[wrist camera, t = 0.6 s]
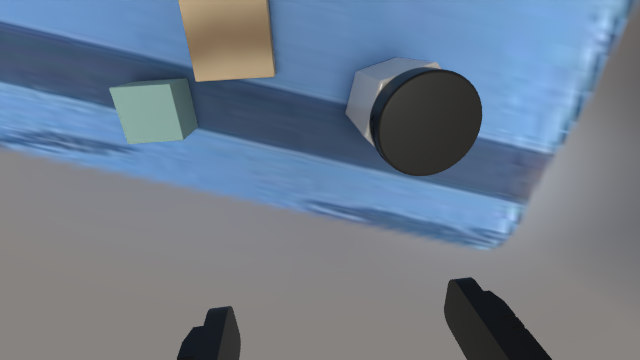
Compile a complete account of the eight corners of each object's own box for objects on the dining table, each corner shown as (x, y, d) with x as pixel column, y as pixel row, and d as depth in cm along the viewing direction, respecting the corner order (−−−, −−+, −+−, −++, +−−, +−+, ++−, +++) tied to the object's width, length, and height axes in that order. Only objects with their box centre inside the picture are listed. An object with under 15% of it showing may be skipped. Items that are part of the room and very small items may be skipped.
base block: (190, -4, 27) (175, -11, 23) (267, -7, 28) (264, -15, 24) (207, 77, 30) (196, 81, 26) (276, 72, 30) (274, 76, 27)
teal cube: (136, 81, 30) (108, 87, 25) (187, 78, 30) (169, 84, 25) (150, 129, 32) (128, 143, 27) (198, 126, 32) (183, 139, 28)
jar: (329, 101, 32) (350, 130, 21) (382, 40, 30) (436, 37, 19) (383, 151, 35) (425, 198, 24) (435, 99, 33) (506, 125, 22)
